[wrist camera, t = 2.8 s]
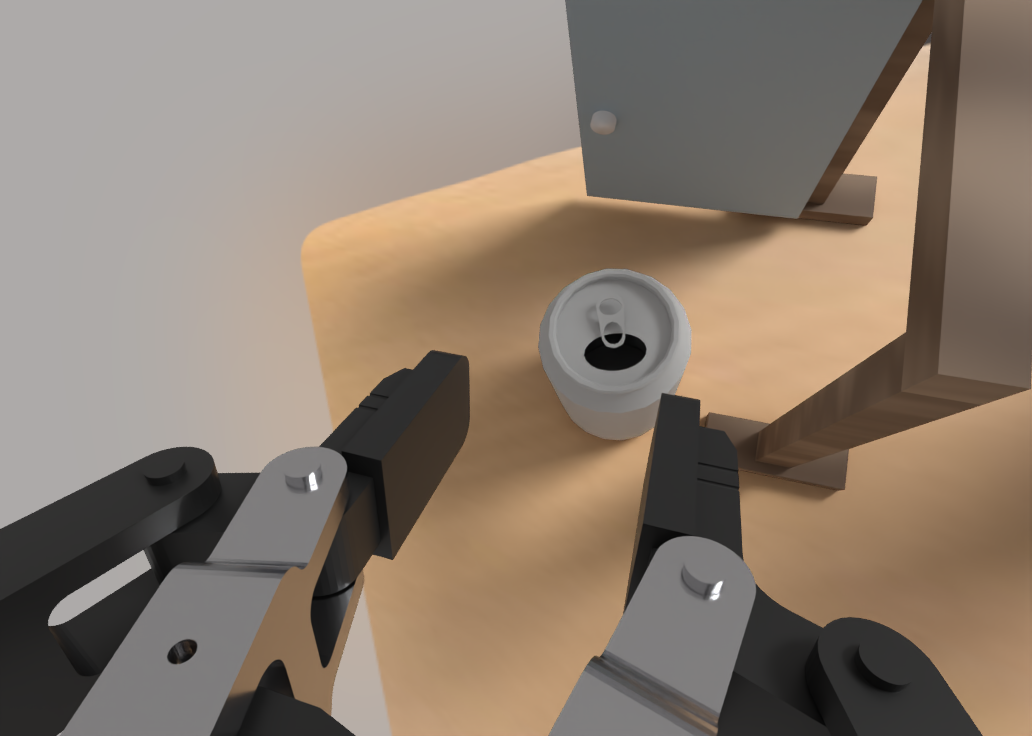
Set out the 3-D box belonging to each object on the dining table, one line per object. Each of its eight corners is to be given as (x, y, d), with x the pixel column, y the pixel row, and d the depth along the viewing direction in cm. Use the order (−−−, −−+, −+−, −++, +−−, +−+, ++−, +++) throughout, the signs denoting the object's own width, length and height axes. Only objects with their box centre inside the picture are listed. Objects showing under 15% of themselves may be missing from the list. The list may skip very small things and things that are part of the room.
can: (564, 446, 38) (538, 413, 26) (555, 339, 40) (528, 264, 28) (681, 437, 36) (708, 398, 25) (666, 326, 38) (684, 243, 27)
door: (800, 198, 38) (946, -71, 21) (796, 225, 37) (942, -26, 20) (591, 177, 41) (568, -71, 24) (585, 202, 41) (557, -33, 23)
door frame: (746, 173, 40) (878, -206, 19) (870, 185, 38) (1166, -220, 17) (699, 461, 36) (806, 375, 15) (838, 490, 34) (1183, 438, 13)
